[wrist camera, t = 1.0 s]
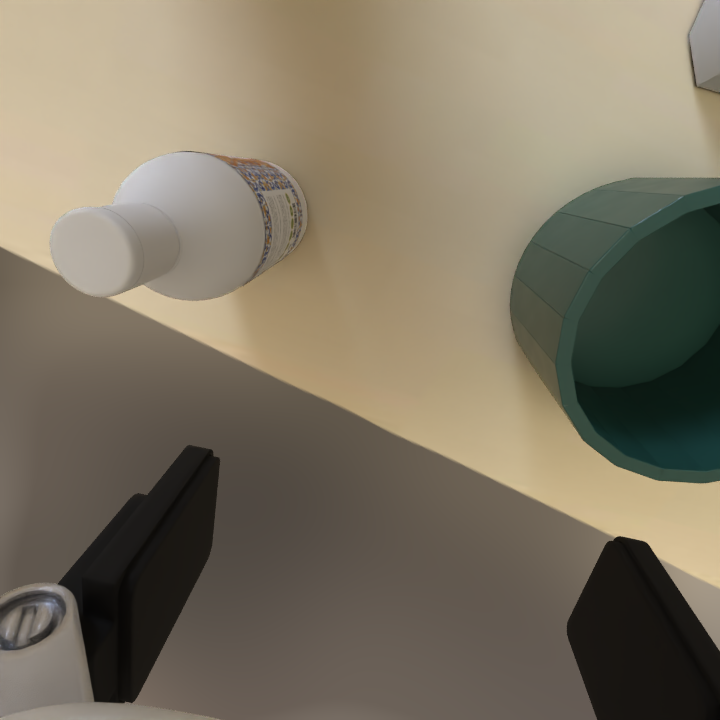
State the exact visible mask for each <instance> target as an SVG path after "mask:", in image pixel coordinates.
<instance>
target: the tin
mask: <svg viewBox="0 0 720 720" xmlns="http://www.w3.org/2000/svg"><path fill="white" fill-rule="evenodd" d="M510 311H511V320H512V325H513V329H514V332H515V336H516V340H517V342H518V344H519V345H520V347H521V349H522V350H523V352H524V354H525V355H526V357H527V358H528V360H529V362H530V363H531V365H532V366H533V368H534V369H535V371H536V372H537V374H538V375H539V377H540V378H541V379H542V381H543V382H544V384H545V385H546V387H547V388H548V390H549V391H550V393H551V394H552V396H553V397H554V398H555V400H556V401H557V403H558V404H559V406H560V407H561V409H562V410H563V412H564V413H565V415H566V416H567V417H568V419H569V420H570V422H571V423H572V425H573V426H574V428H575V429H576V431H577V432H578V434H579V435H580V436H581V438H582V439H583V440H584V442H586V443H587V444H588V445H590V446H591V447H592V448H593V449H595V450H596V451H597V452H599V453H600V454H601V455H602V456H604V457H605V458H606V459H608V460H609V461H610V462H611V463H613V464H614V465H616V466H618V467H621V468H623V469H626V470H629V471H632V472H635V473H638V474H640V475H643V476H646V477H649V478H652V479H655V480H658V481H673V482H689V483H709V482H715V481H720V178H630V179H626V180H623V181H618V182H613V183H610V184H607V185H604V186H600V187H598V188H596V189H593V190H591V191H589V192H587V193H584V194H583V195H581V196H579V197H578V198H576V199H574V200H572V201H571V202H569V203H568V204H567V205H565V206H564V207H563V208H561V209H560V210H559V211H557V212H556V213H555V214H554V215H553V216H552V217H551V218H550V219H549V220H548V221H547V222H546V223H545V224H544V225H543V226H542V227H541V228H540V229H539V231H538V232H537V233H536V234H535V235H534V237H533V238H532V240H531V241H530V243H529V245H528V246H527V248H526V249H525V251H524V253H523V255H522V257H521V259H520V261H519V264H518V266H517V269H516V272H515V275H514V279H513V284H512V289H511V299H510Z"/></svg>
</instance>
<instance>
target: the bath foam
mask: <svg viewBox="0 0 720 720" xmlns="http://www.w3.org/2000/svg"><path fill="white" fill-rule="evenodd" d="M307 218H308V213H307V205H306V200H305V197H304V195H303V192H302V190H301V188H300V186H299V185H298V183H297V182H296V181H295V179H294V178H293V177H292V176H291V175H290V174H289V173H288V172H287V171H285V170H284V169H282V168H281V167H279V166H277V165H275V164H273V163H270V162H267V161H263V160H256V159H250V158H241V157H233V156H225V155H217V154H209V153H201V152H192V151H182V152H175V153H170V154H165V155H162V156H158V157H156V158H153V159H151V160H149V161H147V162H145V163H144V164H142V165H140V166H139V167H137V168H136V169H135V170H134V171H133V172H131V173H130V174H129V175H128V176H127V178H126V179H125V180H124V181H123V182H122V184H121V185H120V187H119V189H118V191H117V193H116V195H115V197H114V199H113V203H112V205H106V206H102V207H82V208H77V209H74V210H71V211H69V212H67V213H65V214H64V215H62V216H61V217H60V218H59V219H58V220H57V222H56V223H55V225H54V226H53V229H52V231H51V235H50V252H51V256H52V259H53V262H54V264H55V266H56V268H57V270H58V271H59V273H60V274H61V276H62V277H63V278H64V279H65V280H66V281H67V282H68V283H69V284H70V285H71V286H72V287H74V288H75V289H77V290H78V291H80V292H82V293H85V294H87V295H91V296H96V297H110V296H115V295H118V294H120V293H123V292H125V291H128V290H130V289H133V288H135V287H138V286H140V285H142V284H143V285H145V286H146V287H148V288H150V289H151V290H153V291H155V292H157V293H160V294H162V295H165V296H168V297H171V298H175V299H180V300H191V301H199V300H208V299H213V298H217V297H220V296H223V295H226V294H228V293H230V292H232V291H234V290H236V289H238V288H239V287H241V286H242V285H243V286H244V285H245V284H247V283H248V282H250V281H251V280H253V279H254V278H256V277H257V276H259V275H260V274H262V273H263V272H265V271H266V270H267V269H269V268H270V267H272V266H273V265H275V264H276V263H278V262H279V261H281V260H282V259H283V258H284V257H286V256H287V255H288V254H290V253H291V252H292V251H293V250H294V249H295V248H296V247H297V246H298V244H299V243H300V241H301V239H302V238H303V235H304V233H305V230H306V226H307Z"/></svg>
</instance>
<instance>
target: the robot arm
mask: <svg viewBox="0 0 720 720" xmlns="http://www.w3.org/2000/svg"><path fill="white" fill-rule="evenodd" d="M219 465H220V459H219V458H218V457H214V456H213V451H212V450H211V449H206V448H201V447H196V446H192V445H188V446H187V447H186V448H185V449H184V450H183V452H182V453H181V454H180V455H179V456H178V458H177V459H176V460H175V461H174V463H173V464H172V465H171V466H170V468H169V469H168V470H167V471H166V473H165V474H164V475H163V476H162V478H161V479H160V480H159V481H158V483H157V484H156V485H155V486H154V488H153V489H152V490H151V491H150V492H149V494H148V495H144V494H139V493H138V494H135V495H134V496H133V497H132V498H130V499H129V500H128V502H127V503H126V504H125V505H124V506H123V508H122V509H121V510H120V511H119V512H118V514H117V515H116V516H115V517H114V518H113V519H112V520H111V522H110V523H109V524H108V525H107V526H106V527H105V529H104V530H103V531H102V532H101V533H100V535H99V536H98V537H97V538H96V539H95V541H94V542H93V543H92V544H91V545H90V546H89V547H88V549H87V550H86V551H85V552H84V554H83V555H82V556H81V557H80V558H79V559H78V560H77V562H76V563H75V564H74V565H73V566H72V567H71V569H70V570H69V571H68V572H67V573H66V575H65V576H64V577H63V578H62V579H61V581H60V582H59V583H58V584H54V583H36V584H32V585H26V586H22V587H20V588H17V589H15V590H12V591H9V592H8V593H6V594H4V595H2V596H1V597H0V720H222V719H217V718H212V717H206V716H201V715H196V714H190V713H186V712H180V711H175V710H170V709H163V708H155V707H148V706H141V705H134V704H127V703H126V704H125V701H126V702H130V703H133V702H134V701H135V699H136V698H137V696H138V695H139V693H140V691H141V689H142V687H143V685H144V683H145V681H146V679H147V677H148V675H149V673H150V671H151V669H152V667H153V666H154V664H155V661H156V659H157V658H158V656H159V654H160V652H161V650H162V648H163V646H164V644H165V642H166V640H167V638H168V636H169V634H170V632H171V630H172V628H173V626H174V624H175V623H176V620H177V619H178V617H179V615H180V613H181V611H182V609H183V607H184V605H185V603H186V601H187V599H188V597H189V595H190V593H191V591H192V589H193V587H194V585H195V583H196V581H197V579H198V578H199V576H200V573H201V572H202V570H203V568H204V566H205V564H206V562H207V560H208V557H209V555H210V551H211V547H212V540H213V530H214V519H215V508H216V497H217V487H218V477H219ZM567 635H568V639H569V642H570V645H571V648H572V650H573V653H574V656H575V659H576V661H577V664H578V667H579V670H580V673H581V675H582V678H583V681H584V684H585V687H586V689H587V692H588V695H589V698H590V700H591V703H592V706H593V709H594V712H595V715H596V717H597V720H720V651H719V650H718V648H717V647H716V645H715V644H714V642H713V641H712V639H711V638H710V636H709V635H708V633H707V632H706V630H705V629H704V627H703V626H702V624H701V623H700V621H699V620H698V618H697V617H696V615H695V614H694V612H693V611H692V609H691V608H690V606H689V605H688V603H687V602H686V600H685V599H684V597H683V596H682V594H681V593H680V591H679V590H678V588H677V587H676V585H675V584H674V582H673V581H672V579H671V578H670V576H669V575H668V573H667V572H666V570H665V569H664V567H663V566H662V564H661V563H660V561H659V560H658V558H657V557H656V555H655V554H654V552H653V551H652V549H651V548H650V546H649V545H648V544H647V543H646V542H644V541H640V540H635V539H631V538H626V537H621V536H620V537H616V538H615V539H614V540H613V541H609V542H607V543H606V545H605V547H604V549H603V551H602V553H601V555H600V557H599V559H598V561H597V563H596V565H595V567H594V569H593V571H592V573H591V575H590V577H589V579H588V581H587V583H586V585H585V587H584V589H583V591H582V593H581V595H580V597H579V600H578V602H577V604H576V606H575V608H574V610H573V612H572V614H571V616H570V618H569V620H568V623H567Z"/></svg>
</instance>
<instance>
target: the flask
mask: <svg viewBox="0 0 720 720" xmlns="http://www.w3.org/2000/svg"><path fill="white" fill-rule="evenodd" d="M689 38H690V45H691V51H692V58H693V64H694V71H695V77H696V84H697V86H698V87H702V88H705V89H709V90H712V91H716V92H719V93H720V0H704V2H703V5H702V7H701V9H700V11H699V14H698V16H697V18H696V20H695V23H694V25H693V27H692V29H691V32H690V34H689Z"/></svg>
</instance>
